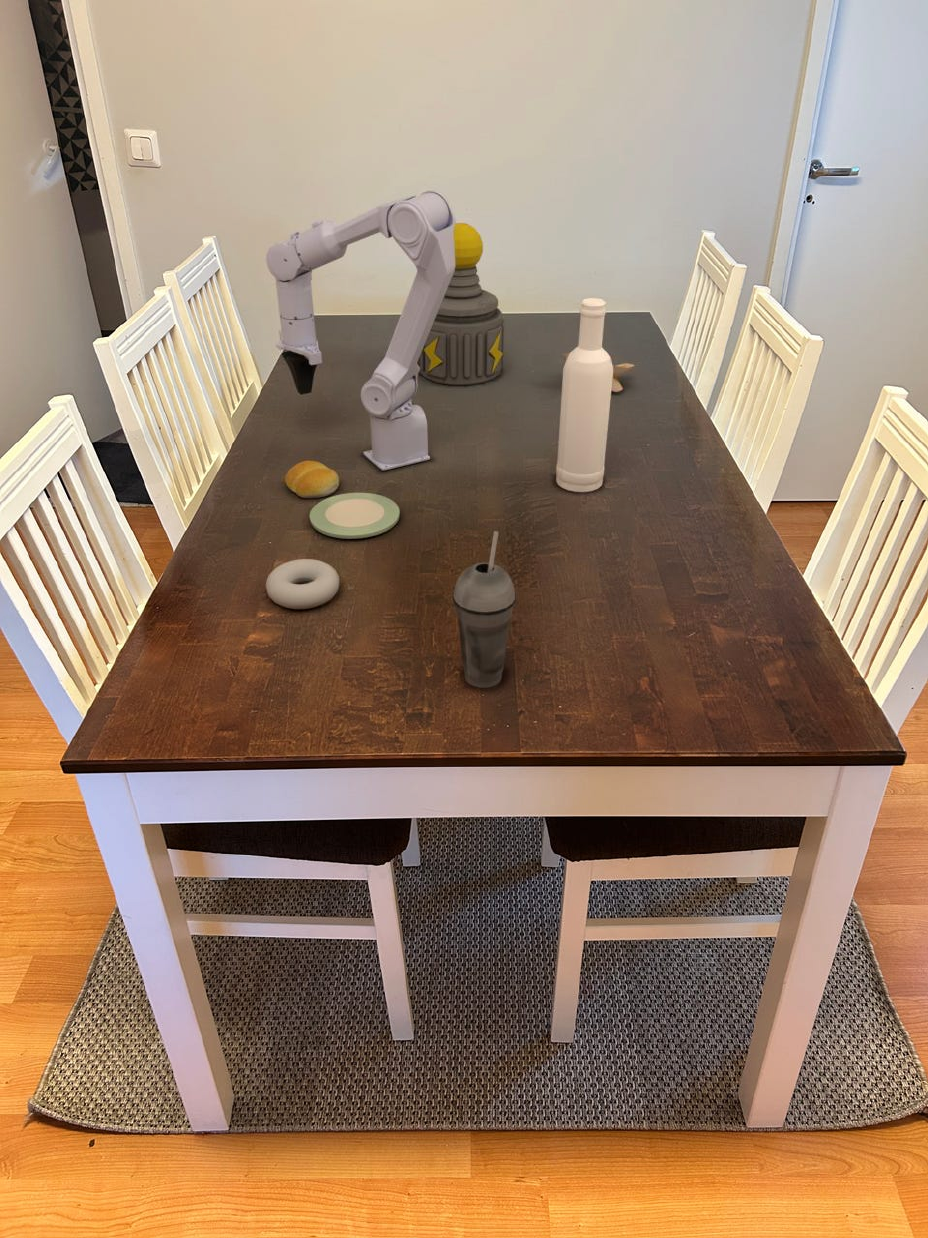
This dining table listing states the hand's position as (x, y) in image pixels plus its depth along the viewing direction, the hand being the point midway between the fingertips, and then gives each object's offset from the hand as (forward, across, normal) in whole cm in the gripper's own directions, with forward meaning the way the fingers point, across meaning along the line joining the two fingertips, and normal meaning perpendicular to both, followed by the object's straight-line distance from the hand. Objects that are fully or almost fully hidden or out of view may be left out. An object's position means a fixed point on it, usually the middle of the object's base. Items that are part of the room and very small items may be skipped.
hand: (304, 392), depth 164 cm
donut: (+10, +47, -20) cm, 52 cm away
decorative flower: (+10, +4, +63) cm, 64 cm away
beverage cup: (+10, +75, -8) cm, 76 cm away
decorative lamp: (+10, -18, +42) cm, 47 cm away
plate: (+9, +31, -5) cm, 33 cm away
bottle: (+10, +38, +33) cm, 51 cm away
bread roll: (+10, +18, -7) cm, 21 cm away
